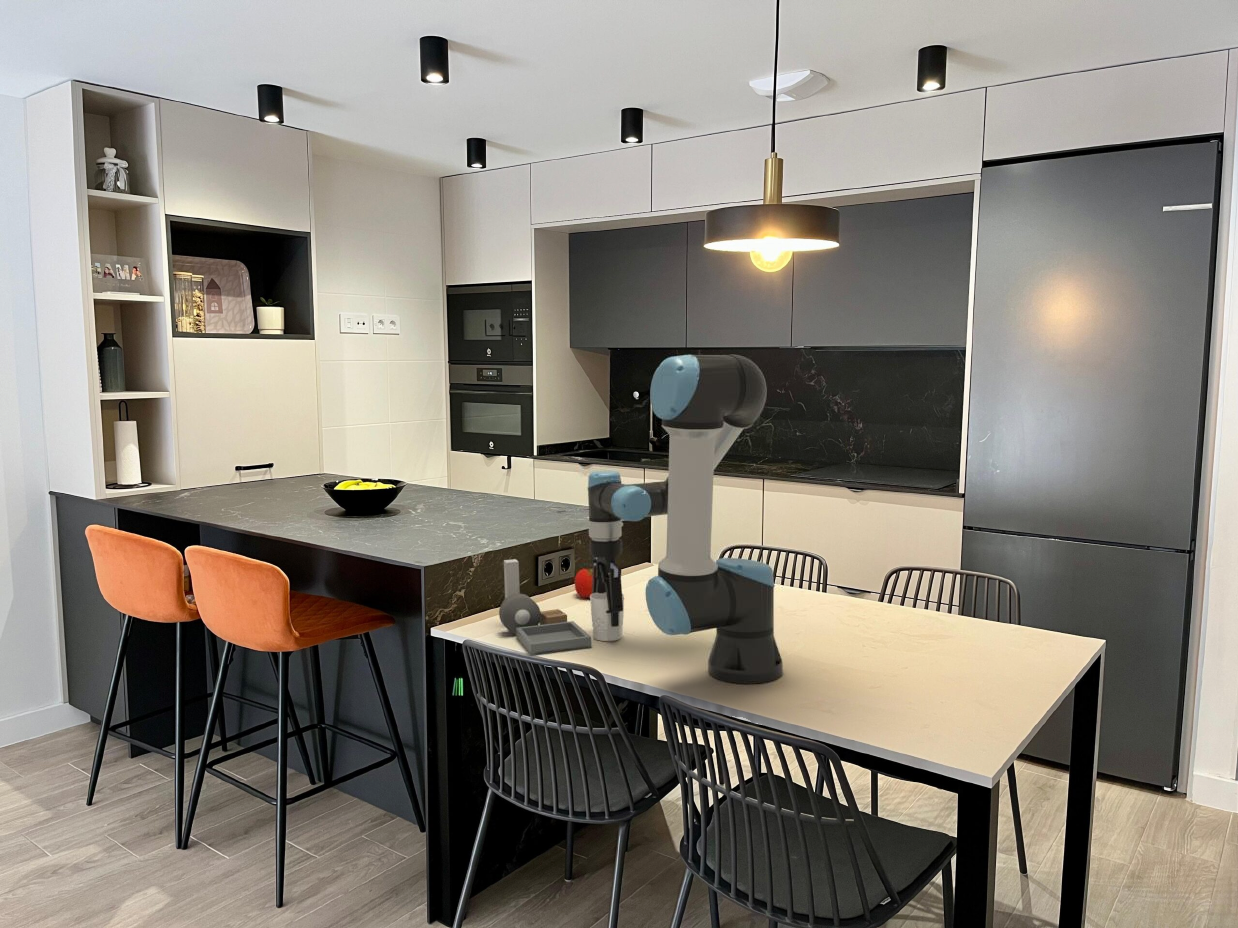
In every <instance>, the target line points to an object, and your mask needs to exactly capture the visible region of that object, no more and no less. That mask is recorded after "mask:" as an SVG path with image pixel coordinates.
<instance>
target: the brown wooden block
mask: <svg viewBox="0 0 1238 928" xmlns="http://www.w3.org/2000/svg"><path fill="white" fill-rule="evenodd" d="M540 612H541V619H540V623H539V625H544V624H553V623H561V622H568V614H566V613H565V612H563V611H562V610H560V609H559V608H557V609H556V608H555V609H548V610H542V611H541V610H540Z"/></svg>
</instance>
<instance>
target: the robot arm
mask: <svg viewBox="0 0 1238 928" xmlns="http://www.w3.org/2000/svg"><path fill="white" fill-rule="evenodd" d="M767 391H768V389H767V383H766V378H765V376H764V374H763V372H762V370H761V369H760V368H759V366H758V365H757V364H756V363H755V362H753V360H751V359H749V358H747V357H746V356H742V355H738V354H721V355H720V354H684V355H676V356H669V357H667V358H665V359H664V360H662V362H661V363H660V364H659V366H658V367H657V368H656V370H655V372H654V374H653V376H652V379H651V385H650V391H649V392H650V393H649V394H650V395H649V396H650V397H649V399H650V404H651V405H652V407H651V408H652V411H653V413H654V415H656V417H657V418H659V419H661V427H662V428H663V429H664V430H665V432H667V434H668V435H669V445H668V446H669V449H668V452H669V453H668V476H667V477H666V479H665V480H663V481H662V480H661V481H652V482H641V483H630V484H628V483H627V484H625V483H622V479H621V474H620V472H618V471H615V470H599V471H598V470H597V471H592V472H590V473H589V474H588V481H587V482H588V483H587V485H588V486H587V499H588V537H589V538H590V540H589V555H591V556H592V557H593V558H592V559H591V562H592V568H593V582H592V594H594V593H605V592H606V595H607V602H608V609H609V610H607V611H606V613H607V628H608V640H615V641H618V640H617V639H619V640H621V639H620V618H619V612H620V611H623V600H622V594H623V591H622V589H623V587H622V568H621V567H618V564H617V563H616V558H617V557H619V556H621V555H622V553H623V540H622V538H620V537H622V535H623V534H622V533H623V532H622V527H623V526H624V523H623V522H622V520H623V521H627V522H638V521H639V522H640V521H642V520H643V519H644V518H646V517H647V518H648V517H657V516H662V515H663V516H666V515H667V516H666V519H667V521H666V522H667V523H666V550H665V551H666V555H665V557H663V558H662V559H661V560H660V561H659V562H658V566H657V567H658V568H657V569H658V570H657V575H655V576H653V577H651V578H650V579H649V580H648V582H647V583H646V586H645V603H646V607H647V610H648V612H649V615H650V618H651V619H652V622H653V623H654V625H655V626H656V628H658V630H659V631H661V632H662V633H663V634H665V635H669V636H678V635H689V634H693V633H698V632H702V631H708V630H713V629H715V631H716V634H715V638H714V641H713V644H712V647H711V650H710V654H709V657H708V659H707V669H708V670H707V671H708V673H709V675H710V676H711V677H713V678H715V679H718V680H721V681H724V682H726V683H733V684H734V683H735V684H743V685H744V684H745V685H747V684H749V685H750V684H752V685H753V684H762V683H768V682H771V681H775V680H776V679H779V678H781V676H782V675H783V672H784V671H783V668H784V667H783V660H782V656H781V653H780V650H779V647H778V644H777V641H776V639H775V638H776V637H775V632H774V631H775V630H774V626H775V624H774V623H775V617H774V614H775V612H774V610H775V609H774V607H775V606H774V605H775V604H774V601H775V599H774V597H775V595H774V593H775V592H774V590H775V586H776V585H775V583H774V582H775V581H774V571H773V568H772V567H771V566H770V565H769V564H767V563H765V562H762V561H758V560H754V559H753V560H752V559H747V558H737V557H734V558H733V557H721V558H718V559H716V560H715V561H714V560H713V559H712V558H711V554H712V553H711V551H712V550H711V549H712V526H713V525H712V524H713V523H712V521H713V499H714V473H715V471H714V470H715V469H716V468H717V466H718V465H719V464H720V462H721V461H722V459H723V458H724V457H725V456H726V454H727V453H728V451H729V450H730V448H731V447H732V446H733V444H734V443H735V441H736V439H738V438H739V436H740V434H741V433H742V432H743V430H744V429H745V430H746V429H749V428H750V427H752V426H753V425H754V423H755V422H756V421H757V420H758V418H759V417H760V415H761V414H762V411H764V407H765V404H766V401H767V395H768V394H767V393H768V392H767Z"/></svg>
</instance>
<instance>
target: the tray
mask: <svg viewBox="0 0 1238 928" xmlns="http://www.w3.org/2000/svg"><path fill="white" fill-rule="evenodd" d="M515 639H516V640H517V641H518V642H519V643H520V645H521V646H522V647H523V648H524V649H525V650H526V652H527V654H528V653H529V655H530V654H531V655H532V656H539V655H545V654H553V653H554V654H555V653H562V652H568V651H569V652H570V651H575V650H576V651H577V650H586V649H591V648H593V646H592V636H591V635H590V634H589V633H587V632H586V631H585V629H583V628H582V627H580V626H579V625H578V623H576V622H575V621H574V620H571V621H567V622H561V623H553V624H544V625H536V626H528V627H519V628H516V635H515ZM531 655H530V656H531Z"/></svg>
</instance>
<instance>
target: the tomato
mask: <svg viewBox="0 0 1238 928" xmlns="http://www.w3.org/2000/svg"><path fill="white" fill-rule="evenodd" d="M592 582H593V567H592V568H589V569H586V568H582V569H580V570H578V572H576V575H575V576H574V589H575V592H576V594H577V595H578V596H580V597H583V598H585V599H590V595H591V594H592Z"/></svg>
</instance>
